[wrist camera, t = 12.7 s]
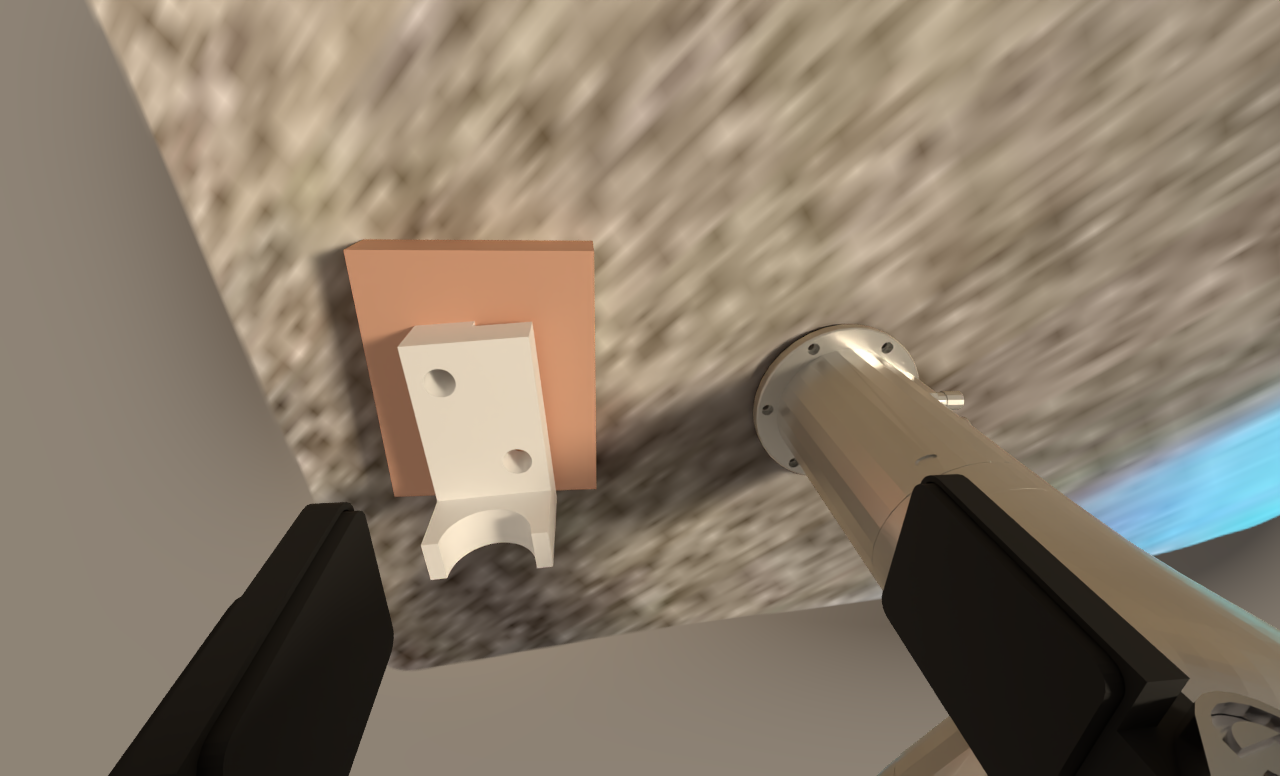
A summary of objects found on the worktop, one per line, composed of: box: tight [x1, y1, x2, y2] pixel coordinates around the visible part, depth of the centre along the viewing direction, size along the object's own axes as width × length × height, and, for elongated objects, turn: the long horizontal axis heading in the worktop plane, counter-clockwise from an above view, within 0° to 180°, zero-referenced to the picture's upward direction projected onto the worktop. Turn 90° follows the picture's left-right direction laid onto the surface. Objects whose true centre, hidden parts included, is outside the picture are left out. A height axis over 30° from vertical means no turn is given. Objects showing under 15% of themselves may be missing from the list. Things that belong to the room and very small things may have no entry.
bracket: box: [397, 321, 557, 580], centre depth 32 cm, size 13×7×8 cm, turn 3°
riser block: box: [344, 240, 596, 497], centre depth 37 cm, size 14×17×4 cm
